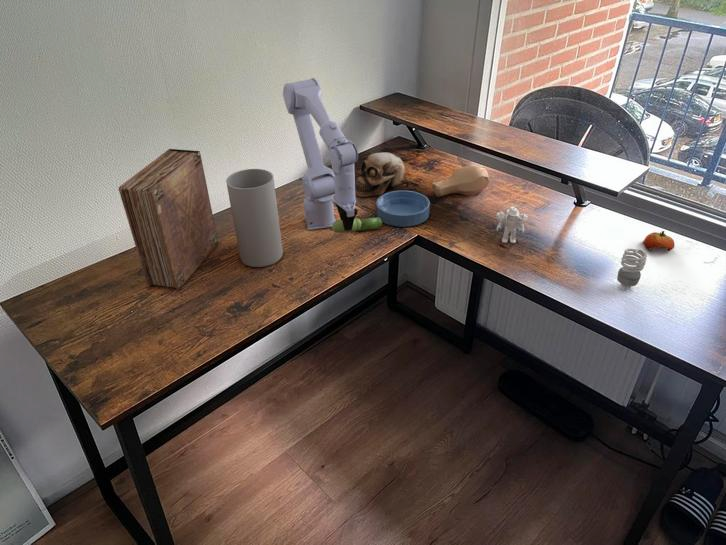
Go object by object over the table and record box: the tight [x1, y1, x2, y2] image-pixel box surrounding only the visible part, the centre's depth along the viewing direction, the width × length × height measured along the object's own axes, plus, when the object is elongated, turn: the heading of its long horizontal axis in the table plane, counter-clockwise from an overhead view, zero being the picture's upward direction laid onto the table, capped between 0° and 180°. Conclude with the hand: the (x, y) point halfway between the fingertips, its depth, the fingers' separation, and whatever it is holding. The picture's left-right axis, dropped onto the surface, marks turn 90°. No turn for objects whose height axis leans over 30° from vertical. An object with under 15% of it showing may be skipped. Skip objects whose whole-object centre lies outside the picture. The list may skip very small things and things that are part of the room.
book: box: [118, 148, 219, 291], centre depth 153 cm, size 25×9×30 cm, turn 167°
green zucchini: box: [356, 216, 383, 232], centre depth 174 cm, size 10×4×4 cm, turn 103°
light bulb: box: [616, 248, 648, 290], centre depth 143 cm, size 6×6×12 cm
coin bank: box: [355, 152, 406, 198], centre depth 195 cm, size 16×17×13 cm
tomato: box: [642, 230, 675, 253], centre depth 161 cm, size 8×7×7 cm
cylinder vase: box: [225, 168, 284, 268], centre depth 156 cm, size 12×12×25 cm
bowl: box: [375, 190, 431, 228], centre depth 181 cm, size 17×17×4 cm
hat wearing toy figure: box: [495, 204, 528, 244], centre depth 164 cm, size 9×4×12 cm, turn 80°
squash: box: [431, 164, 490, 198], centre depth 192 cm, size 11×20×9 cm, turn 107°
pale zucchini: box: [331, 217, 365, 234], centre depth 165 cm, size 10×4×4 cm, turn 103°
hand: (346, 226), depth 166 cm, fingers closed on pale zucchini, 3 cm apart
